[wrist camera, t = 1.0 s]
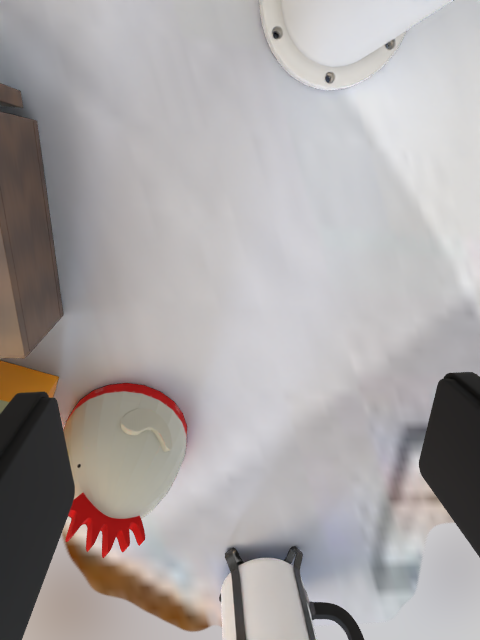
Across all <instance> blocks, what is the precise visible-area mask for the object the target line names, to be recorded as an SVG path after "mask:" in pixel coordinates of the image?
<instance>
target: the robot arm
mask: <svg viewBox="0 0 480 640" xmlns="http://www.w3.org/2000/svg"><path fill="white" fill-rule="evenodd" d="M452 1H454V0H259V5H260V16H261V22H262V26H263V30H264V34H265V38H266V40H267V42H268V44H269V47H270V49H271V51H272V53H273V55H274V56H275V58H276V59H277V61H278V62H279V64H280V65H281V66H282V67H283V68H284V69H285V70H286V71H287V72H288V73H289V74H290V75H291V76H292V77H293V78H295V79H296V80H298V81H299V82H301V83H302V84H305V85H307V86H310V87H313V88H315V89H322V90H339V89H345V88H348V87H351V86H354V85H357V84H358V83H360V82H362V81H365V80H366V79H368V78H369V77H371V76H372V75H374V74H375V73H376V72H378V71H379V70H380V69H381V68H382V67H383V66H384V65H385V64H386V63H387V62H388V61H389V60H390V59H391V57H392V56H393V55H394V53H395V52H396V51H397V49H398V47H399V46H400V44H401V42H402V40H403V38H404V36H405V34H406V32H407V30H408V29H410V28H411V27H413V26H415V25H416V24H418V23H419V22H421V21H422V20H424V19H426V18H427V17H429V16H430V15H432V14H433V13H435V12H437V11H438V10H440V9H441V8H443V7H444V6H446V5H448V4H449V3H451V2H452ZM275 32H276V33H277V34H278V39H275V38H274V37H273V33H275ZM386 43H387V44H388V49H387V48H386V46H385V44H386ZM326 76H328V77H329V79H330V80H329V82H326V81H325V77H326ZM419 468H420V472H421V475H422V476H423V478H424V479H425V481H426V482H427V484H428V485H429V486H430V488H431V489H432V491H433V492H434V494H435V495H436V496H437V498H438V499H439V501H440V502H441V503H442V505H443V506H444V508H445V509H446V510H447V512H448V513H449V515H450V516H451V518H452V519H453V520H454V522H455V523H456V524H457V526H458V527H459V529H460V530H461V532H462V533H463V534H464V536H465V537H466V539H467V540H468V541H469V543H470V544H471V546H472V547H473V549H474V550H475V551H476V553H477V554H478V555H479V557H480V377H479V376H478V375H477V374H475V373H473V372H461V373H448V374H446V376H445V377H444V379H442V380H440V381H439V383H438V386H437V390H436V394H435V398H434V402H433V406H432V410H431V414H430V418H429V423H428V427H427V431H426V435H425V439H424V443H423V447H422V451H421V456H420V460H419ZM74 495H75V484H74V479H73V475H72V470H71V465H70V460H69V456H68V451H67V446H66V441H65V437H64V432H63V427H62V423H61V418H60V413H59V408H58V404H57V400H56V399H55V398H49V396H48V394H47V393H46V392H25V393H17V394H16V395H15V396H14V397H13V398H12V400H11V401H10V402H9V403H8V405H7V406H6V407H5V408H4V410H3V411H2V412H1V414H0V640H22V638H23V635H24V632H25V629H26V627H27V624H28V621H29V619H30V616H31V613H32V611H33V608H34V605H35V603H36V600H37V597H38V594H39V592H40V589H41V587H42V584H43V581H44V579H45V576H46V573H47V570H48V568H49V565H50V563H51V560H52V557H53V554H54V552H55V549H56V546H57V544H58V541H59V538H60V536H61V533H62V530H63V528H64V525H65V522H66V520H67V517H68V514H69V512H70V509H71V506H72V504H73V500H74Z"/></svg>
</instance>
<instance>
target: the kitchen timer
mask: <svg viewBox="0 0 480 640" xmlns="http://www.w3.org/2000/svg"><path fill="white" fill-rule="evenodd" d="M64 437H65V441H66V446H67V451H68V456H69V460H70V465H71V470H72V475H73V479H74V484H75V495H74V500H73V504H72V506H71V509H70V512H69V514H68V516H69V517H71V519H72V520H71V523H70V527H69V530H68V533H67V536H66V542H68V541H69V540H70V539H71V537H72V536H73V535H74V534H75V533H76V531H77V530H78V529H79V527H80V526H81V525H83V524H86V525H87V528H88V530H87V541H86V551H87V552H88V551H89V550H90V548H91V547H92V546H93V545H94V543H95V541H96V539H97V536H98V534H99V532H100V531H102V535H103V536H102V557H103V558H104V557H105V556H106V555H107V554H108V553H109V551H110V550H111V548H112V545H113V543H114V540H115V538H116V537H117V539H118V542H119V545H120V549H121V551H122V552H124V551H125V550H126V549H127V547H128V546H129V544H130V537H129V529H131V530H132V531H133V533H134V535H135V538H136V541H137V543H138V545H139V546H140V544H141V543H142V542H143V541H144V540H145V533H144V528H143V524H142V521H141V518H143V517H145V516H146V515H147V514H149V513H150V512H151V511H152V510H153V509H154V508H155V507H156V506H157V505H158V504H159V502H160V501H161V500H162V499H163V498H164V497H165V495H166V494H167V493H168V491H169V490H170V488H171V486H172V484H173V482H174V480H175V478H176V476H177V474H178V471H179V469H180V466H181V464H182V461H183V459H184V456H185V452H186V441H187V425H186V422H185V419H184V416H183V413H182V412H181V410H180V409H179V408H178V406H177V405H176V404H175V402H174V401H172V400H171V399H170V398H168V397H167V396H166V395H164V394H163V393H162V392H160V391H157V390H155V389H152V388H150V387H147V386H145V385H138V384H130V383H122V384H113V385H107V386H105V387H102V388H99V389H96V390H94V391H92V392H91V393H89V394H88V395H86V396H85V397H84V398H82V399H81V400H80V401H79V402H78V404H77V405H76V406H75V408H74V409H73V411H72V412H71V414H70V416H69V418H68V420H67V422H66V425H65V428H64Z"/></svg>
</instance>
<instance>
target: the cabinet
mask: <svg viewBox="0 0 480 640" xmlns="http://www.w3.org/2000/svg"><path fill="white" fill-rule="evenodd" d="M62 316H63V308H62V301H61V293H60V286H59V279H58V271H57V264H56V257H55V249H54V242H53V235H52V227H51V220H50V213H49V205H48V198H47V191H46V183H45V176H44V169H43V162H42V154H41V147H40V140H39V132H38V125H37V121H36V120H32V119H28V118H24V117H20V116H16V115H12V114H8V113H4V112H0V358H26V357H27V356H28V355H29V354H30V352H31V351H32V350H33V349H34V348H35V347H36V346H37V344H38V343H39V342H40V341H41V340H42V339H43V338H44V337H45V335H46V334H47V333H48V332H49V331H50V330H51V329H52V328H53V326H54V325H55V324H56V323H57V322H58V321H59V320H60V318H61V317H62Z"/></svg>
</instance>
